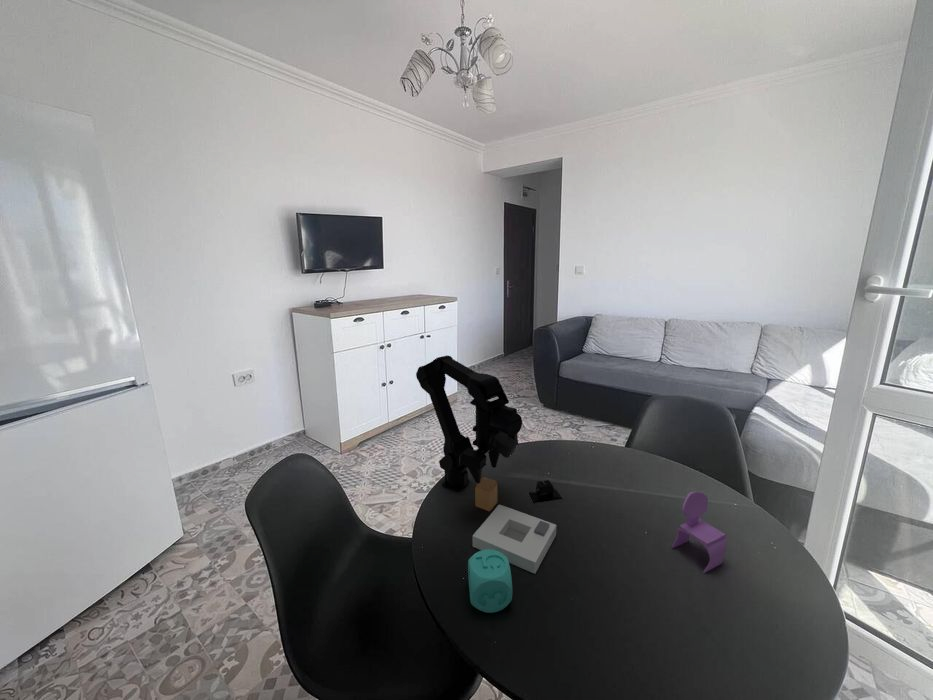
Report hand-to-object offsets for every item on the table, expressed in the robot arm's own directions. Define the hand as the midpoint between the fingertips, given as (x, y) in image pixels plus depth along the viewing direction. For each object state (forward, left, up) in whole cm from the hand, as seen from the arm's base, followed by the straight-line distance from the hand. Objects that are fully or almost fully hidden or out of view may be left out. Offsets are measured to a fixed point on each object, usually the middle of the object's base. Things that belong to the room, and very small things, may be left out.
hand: (486, 474), depth 105 cm
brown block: (0, 0, -9) cm, 9 cm away
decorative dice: (+15, -26, -10) cm, 32 cm away
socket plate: (+13, -9, -9) cm, 18 cm away
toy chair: (+51, +8, -10) cm, 53 cm away
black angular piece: (+13, +12, -10) cm, 20 cm away
